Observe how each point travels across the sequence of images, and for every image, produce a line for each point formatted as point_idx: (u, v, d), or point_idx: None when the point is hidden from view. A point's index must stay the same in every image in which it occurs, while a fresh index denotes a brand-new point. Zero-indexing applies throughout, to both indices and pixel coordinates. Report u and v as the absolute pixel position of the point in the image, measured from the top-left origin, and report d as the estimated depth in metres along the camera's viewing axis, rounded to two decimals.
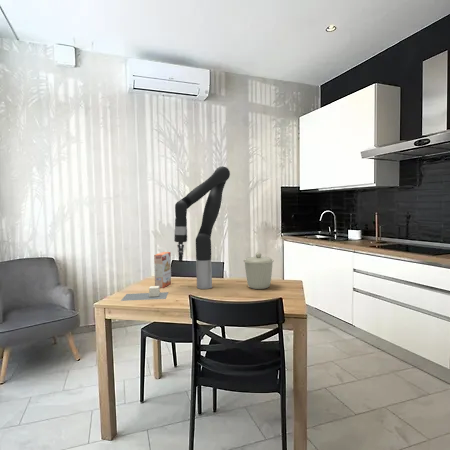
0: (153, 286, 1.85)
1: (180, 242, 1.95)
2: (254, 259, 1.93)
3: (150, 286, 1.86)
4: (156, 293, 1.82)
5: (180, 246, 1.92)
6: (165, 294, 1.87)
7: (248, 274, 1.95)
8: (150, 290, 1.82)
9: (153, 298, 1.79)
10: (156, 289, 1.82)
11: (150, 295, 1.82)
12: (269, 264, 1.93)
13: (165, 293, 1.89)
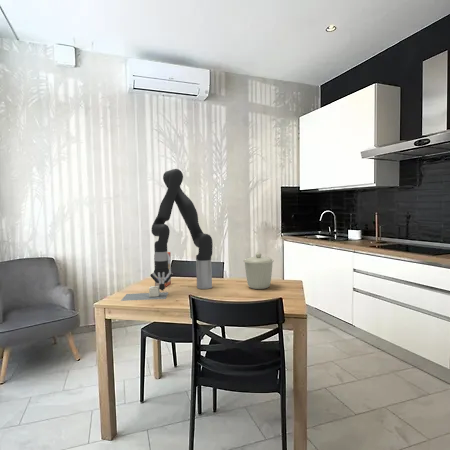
0: (153, 286, 1.85)
1: None
2: (254, 259, 1.93)
3: (150, 286, 1.86)
4: (156, 293, 1.82)
5: None
6: (165, 294, 1.87)
7: (248, 274, 1.95)
8: (150, 290, 1.82)
9: (153, 298, 1.79)
10: (156, 289, 1.82)
11: (150, 295, 1.82)
12: (269, 264, 1.93)
13: (165, 293, 1.89)
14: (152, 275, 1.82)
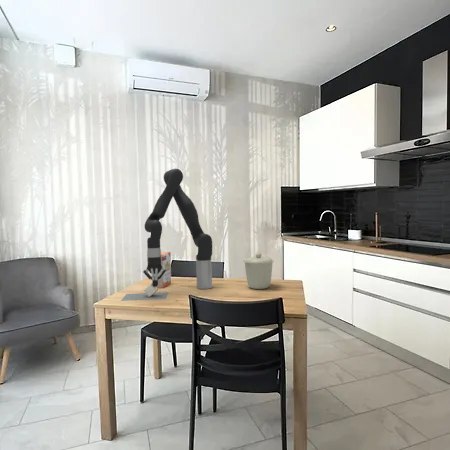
0: (147, 286, 1.85)
1: None
2: (254, 259, 1.93)
3: (145, 288, 1.86)
4: (152, 290, 1.82)
5: None
6: (165, 294, 1.87)
7: (248, 274, 1.95)
8: (146, 291, 1.81)
9: (153, 298, 1.79)
10: (150, 286, 1.81)
11: (149, 295, 1.82)
12: (269, 264, 1.93)
13: (165, 293, 1.89)
14: (145, 271, 1.82)
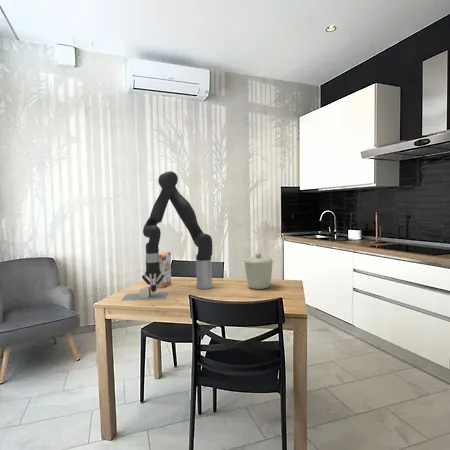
0: None
1: (159, 269, 1.84)
2: (254, 259, 1.93)
3: None
4: (145, 290, 1.81)
5: None
6: (165, 294, 1.87)
7: (248, 274, 1.95)
8: (142, 296, 1.81)
9: (153, 298, 1.79)
10: (141, 290, 1.81)
11: (147, 296, 1.82)
12: (269, 264, 1.93)
13: (165, 293, 1.89)
14: (143, 276, 1.82)
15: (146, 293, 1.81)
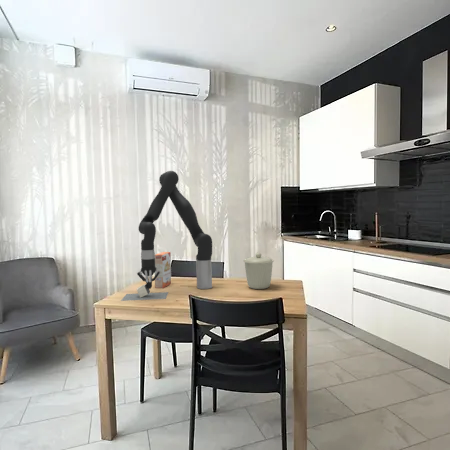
0: None
1: None
2: (254, 259, 1.93)
3: None
4: (142, 288, 1.81)
5: (159, 273, 1.84)
6: (165, 294, 1.87)
7: (248, 274, 1.95)
8: (141, 295, 1.81)
9: (153, 298, 1.79)
10: (138, 290, 1.81)
11: (146, 293, 1.81)
12: (269, 264, 1.93)
13: (165, 293, 1.89)
14: (139, 273, 1.82)
15: (144, 291, 1.81)
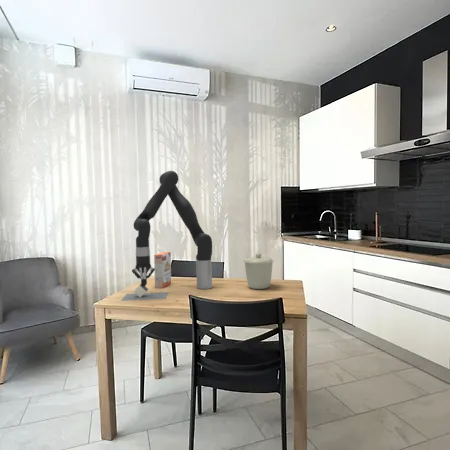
0: None
1: (149, 263, 1.83)
2: (254, 259, 1.93)
3: None
4: (139, 288, 1.81)
5: (153, 271, 1.83)
6: (165, 294, 1.87)
7: (248, 274, 1.95)
8: (141, 295, 1.81)
9: (153, 298, 1.79)
10: (136, 291, 1.81)
11: (144, 291, 1.81)
12: (269, 264, 1.93)
13: (165, 293, 1.89)
14: (134, 270, 1.82)
15: (141, 290, 1.81)
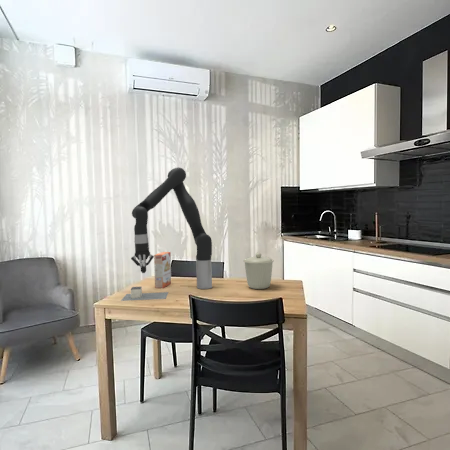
0: None
1: (148, 250, 1.85)
2: (254, 259, 1.93)
3: (141, 295, 1.86)
4: (132, 292, 1.81)
5: (152, 258, 1.85)
6: (165, 294, 1.87)
7: (248, 274, 1.95)
8: (138, 295, 1.81)
9: (153, 298, 1.79)
10: (132, 296, 1.81)
11: (138, 290, 1.81)
12: (269, 264, 1.93)
13: (165, 293, 1.89)
14: (133, 258, 1.83)
15: (135, 291, 1.81)
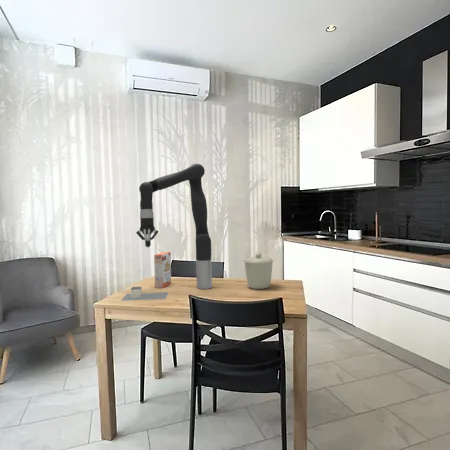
0: None
1: (153, 225, 1.90)
2: (254, 259, 1.93)
3: (141, 295, 1.86)
4: (132, 292, 1.81)
5: (157, 232, 1.90)
6: (165, 294, 1.87)
7: (248, 274, 1.95)
8: (138, 295, 1.81)
9: (153, 298, 1.79)
10: (132, 296, 1.81)
11: (138, 290, 1.81)
12: (269, 264, 1.93)
13: (165, 293, 1.89)
14: (138, 232, 1.89)
15: (135, 291, 1.81)
